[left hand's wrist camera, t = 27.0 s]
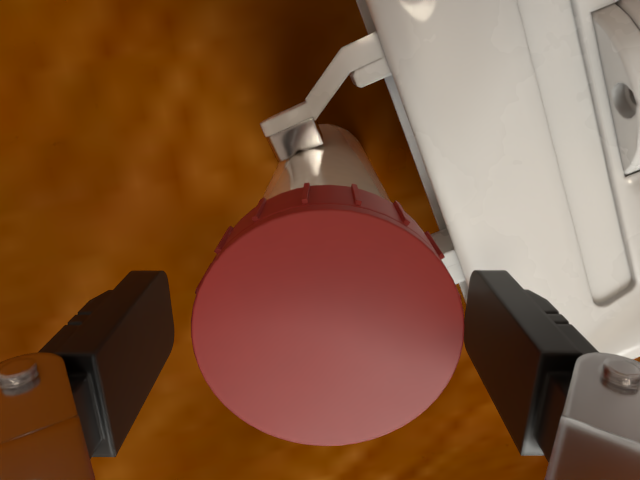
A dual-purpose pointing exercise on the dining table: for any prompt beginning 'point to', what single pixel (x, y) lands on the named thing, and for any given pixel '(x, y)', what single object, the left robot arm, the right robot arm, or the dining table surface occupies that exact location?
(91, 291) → the dining table surface
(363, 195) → the lid
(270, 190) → the beige cylinder
